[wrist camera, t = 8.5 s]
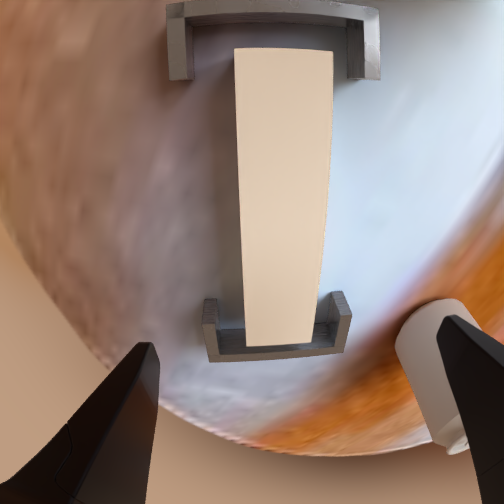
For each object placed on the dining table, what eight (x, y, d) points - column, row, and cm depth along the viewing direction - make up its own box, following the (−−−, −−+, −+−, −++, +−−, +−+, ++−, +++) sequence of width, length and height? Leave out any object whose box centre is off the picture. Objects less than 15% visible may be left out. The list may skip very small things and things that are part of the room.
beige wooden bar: (311, 58, 14) (332, 51, 10) (300, 301, 22) (311, 342, 19) (234, 57, 14) (234, 48, 10) (244, 304, 22) (246, 346, 18)
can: (470, 311, 24) (531, 405, 13) (416, 361, 27) (459, 459, 16) (439, 278, 21) (518, 394, 11) (375, 339, 24) (423, 462, 14)
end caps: (359, 17, 12) (378, 8, 10) (335, 329, 23) (343, 352, 21) (176, 15, 12) (166, 4, 10) (211, 337, 23) (209, 362, 21)
